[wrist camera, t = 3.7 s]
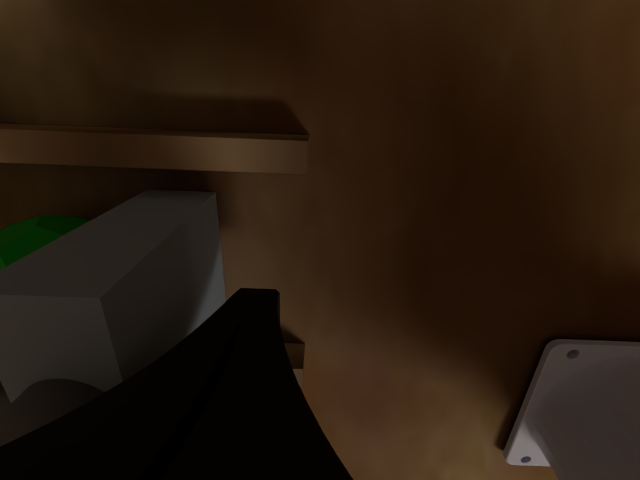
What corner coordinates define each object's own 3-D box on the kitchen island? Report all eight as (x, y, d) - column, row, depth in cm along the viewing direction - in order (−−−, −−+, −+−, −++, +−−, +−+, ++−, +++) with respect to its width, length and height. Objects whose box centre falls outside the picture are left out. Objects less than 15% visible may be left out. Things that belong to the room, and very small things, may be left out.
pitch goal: (310, 86, 11) (304, 83, 7) (304, 384, 16) (297, 471, 12) (-270, 63, 11) (-584, 48, 7) (-83, 370, 16) (-205, 453, 12)
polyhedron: (12, 241, 13) (-146, 317, 9) (96, 172, 12) (-37, 218, 7) (110, 327, 15) (18, 427, 10) (192, 274, 14) (129, 361, 9)
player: (215, 192, 12) (20, 370, 4) (228, 329, 14) (119, 596, 7) (147, 189, 12) (-172, 363, 4) (172, 326, 14) (-1, 592, 7)
